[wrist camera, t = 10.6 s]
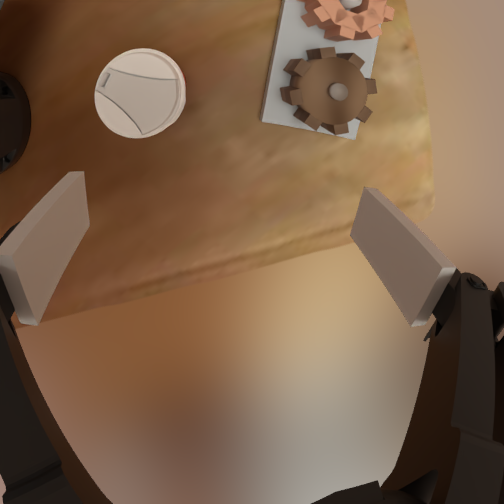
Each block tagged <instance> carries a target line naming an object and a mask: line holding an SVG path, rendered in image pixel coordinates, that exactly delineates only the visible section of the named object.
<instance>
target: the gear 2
mask: <svg viewBox="0 0 504 504" xmlns="http://www.w3.org/2000/svg"><path fill="white" fill-rule="evenodd" d="M306 52H307V57H308V60H306V61H305V60H304V59H302V58H299V59H290V61H289V62H288V63H287V65H286V66H285V68H284V69H283V70H284V71H285V72H287V73H288V74H290V75H292V76H291V79H290V86H286V87H281V88H280V92H281V97H282V101H284V102H286V103H288V104H290V105H292V106H294V105H297V107H298V109H297V110H296V112H295V113H294V114H293V116H294V117H296V118H297V119H299V120H300V121H302V122H303V123H305V124H306V125H308V126H309V127H311V128H312V129H314V130H315V131H317V129H318V128H319V127H320V125H321V127H323V128H325V129H326V130H328V131H329V132H331V133H333V134H334V135H340V134H345V133H349V129H348V122H350V121H351V120H353V119H354V118H355V119H357V120H360V121H362V122H364V123H365V122H366V120H367V119H368V118H369V116H370V115H371V113H372V111H371V110H370V109H369V108H368V107H366V106H365V104H366V101H367V95H368V94H375V93H377V89H376V82H375V79H370V78H364V76H363V74H362V73H361V71H360V69H361V67H362V66H363V65H364V63H365V61H364V60H362V59H361V58H360V57H359V56H358V55H356V54H355V53H337V54H336V51H335V47H325V48H317V49H310V50H306Z"/></svg>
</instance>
